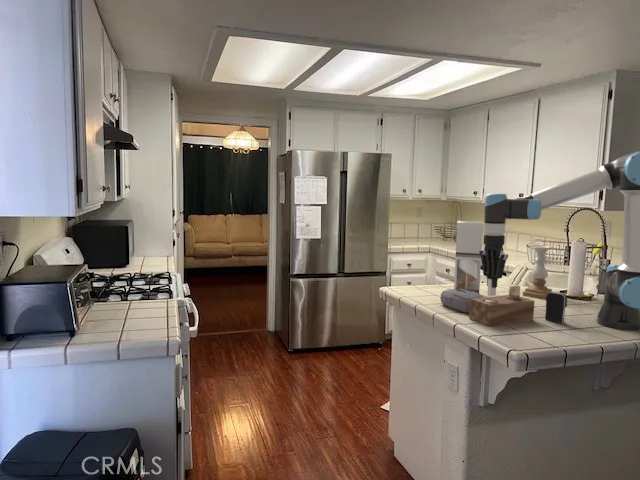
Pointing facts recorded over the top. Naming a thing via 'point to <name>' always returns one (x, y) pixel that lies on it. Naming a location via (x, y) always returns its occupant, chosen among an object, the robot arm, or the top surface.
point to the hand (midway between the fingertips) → (491, 295)
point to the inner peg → (514, 292)
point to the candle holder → (539, 274)
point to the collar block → (501, 310)
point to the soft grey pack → (458, 299)
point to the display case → (468, 255)
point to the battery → (555, 306)
